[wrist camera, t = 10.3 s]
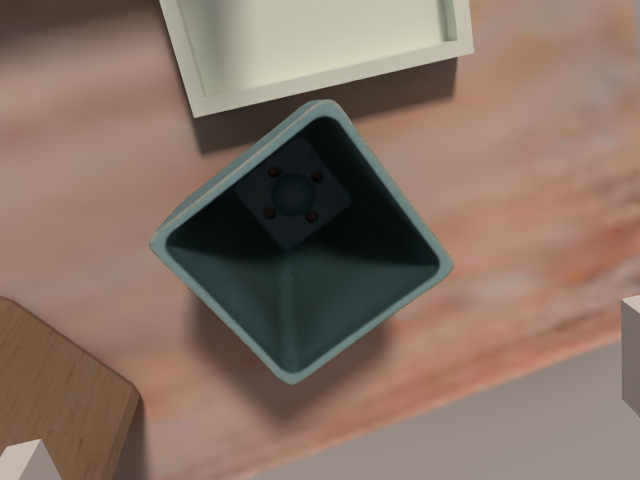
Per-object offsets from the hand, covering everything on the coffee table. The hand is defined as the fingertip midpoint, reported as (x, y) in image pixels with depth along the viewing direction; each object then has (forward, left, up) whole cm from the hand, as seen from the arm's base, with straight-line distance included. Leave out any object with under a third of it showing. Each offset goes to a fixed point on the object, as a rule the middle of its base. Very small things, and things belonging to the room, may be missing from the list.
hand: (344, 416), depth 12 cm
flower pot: (0, 0, -19) cm, 19 cm away
